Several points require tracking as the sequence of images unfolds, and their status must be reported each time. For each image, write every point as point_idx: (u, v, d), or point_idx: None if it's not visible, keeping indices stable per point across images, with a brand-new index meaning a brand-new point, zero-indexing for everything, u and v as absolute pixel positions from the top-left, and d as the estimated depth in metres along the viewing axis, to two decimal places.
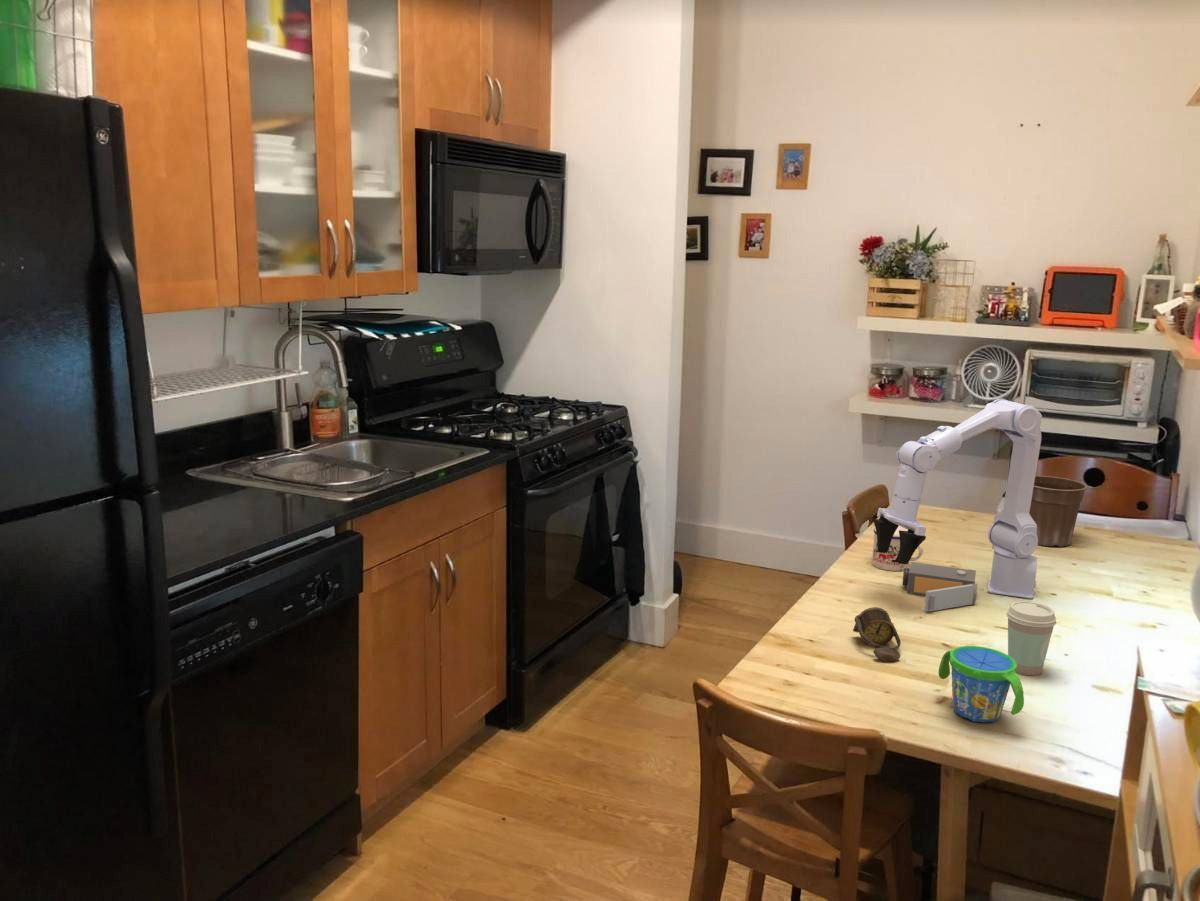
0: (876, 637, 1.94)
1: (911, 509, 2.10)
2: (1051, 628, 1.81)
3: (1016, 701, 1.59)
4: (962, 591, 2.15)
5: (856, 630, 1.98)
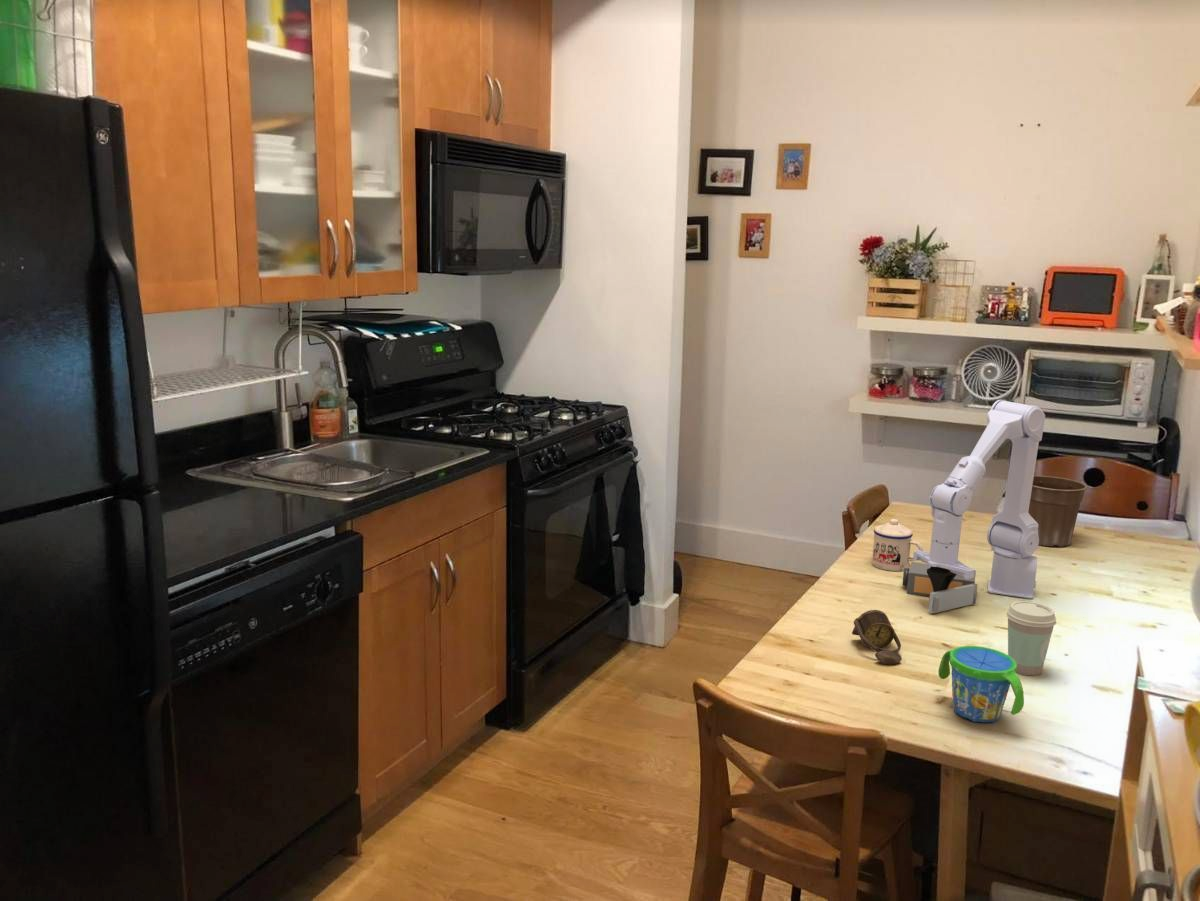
0: (876, 640, 1.93)
1: (954, 553, 2.09)
2: (1051, 628, 1.81)
3: (1016, 701, 1.59)
4: (963, 591, 2.15)
5: (855, 633, 1.96)
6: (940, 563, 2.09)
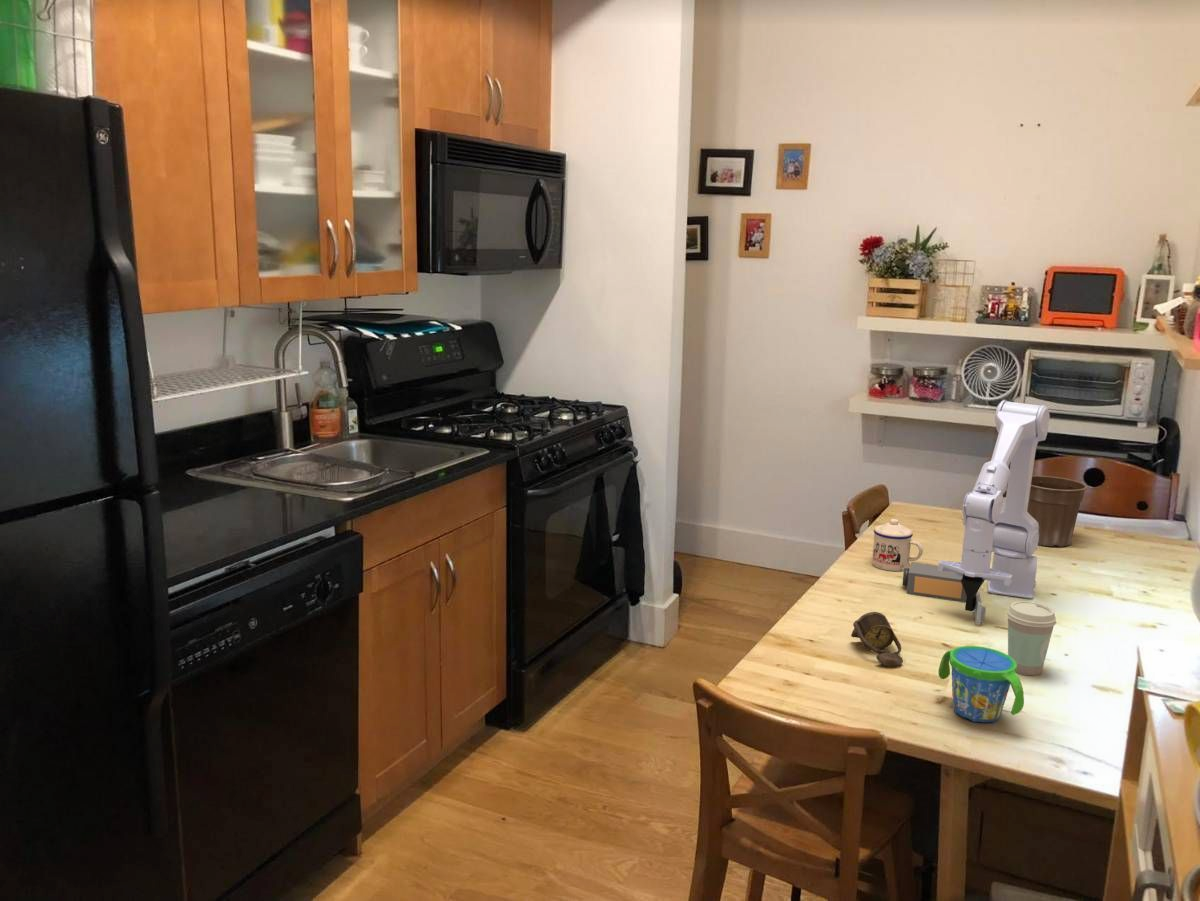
0: (876, 642, 1.92)
1: (990, 560, 2.05)
2: (1051, 628, 1.81)
3: (1016, 701, 1.59)
4: None
5: (854, 635, 1.95)
6: (978, 572, 2.04)
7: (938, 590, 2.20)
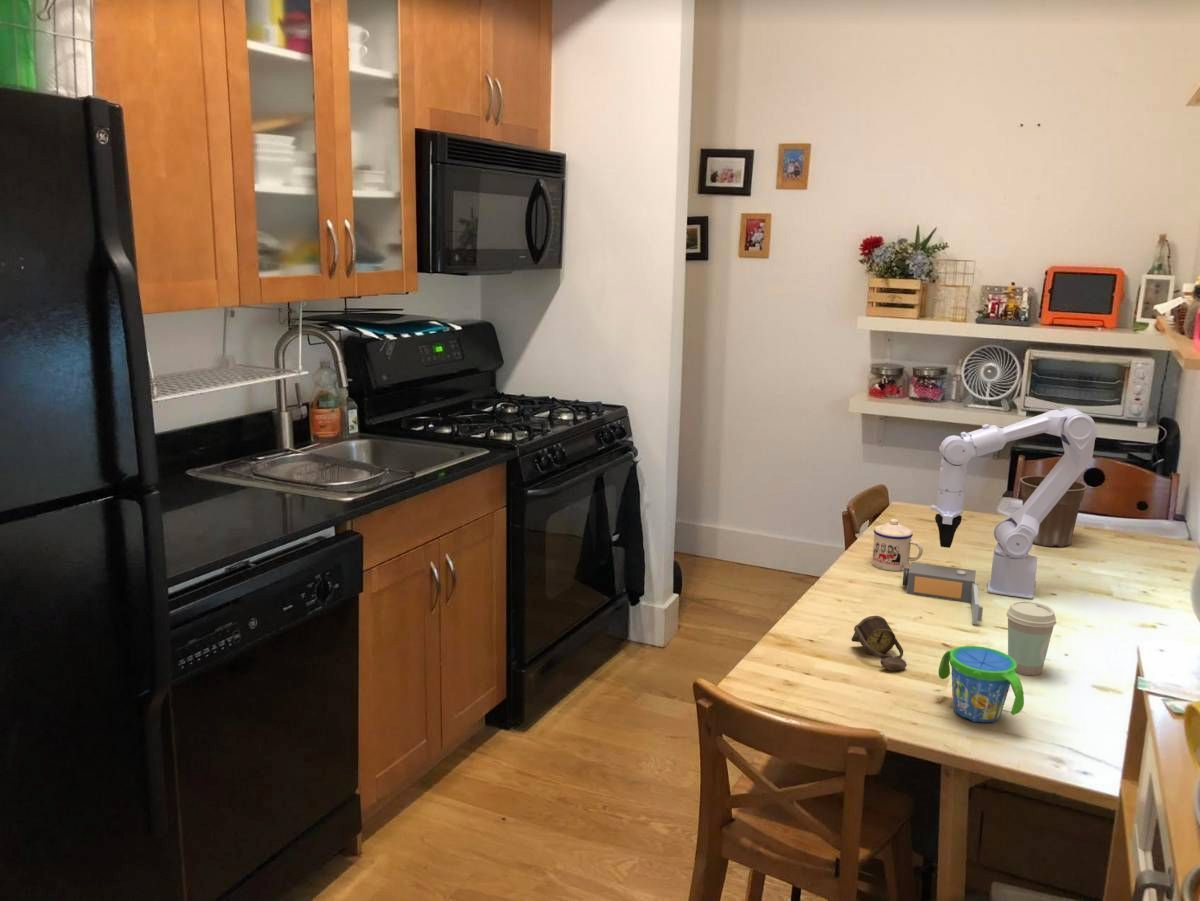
0: (877, 646, 1.90)
1: (948, 500, 2.22)
2: (1051, 628, 1.81)
3: (1016, 701, 1.59)
4: None
5: (855, 640, 1.93)
6: (937, 507, 2.25)
7: (938, 590, 2.20)
